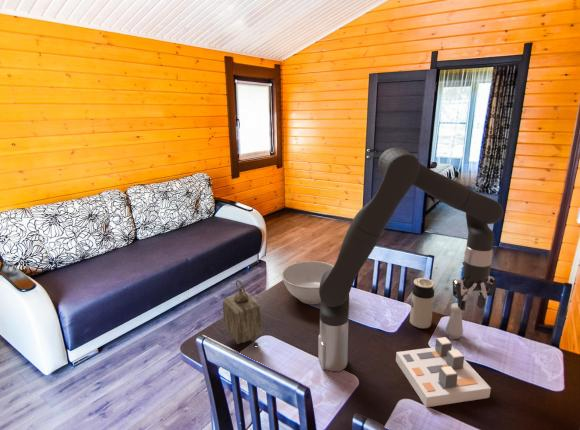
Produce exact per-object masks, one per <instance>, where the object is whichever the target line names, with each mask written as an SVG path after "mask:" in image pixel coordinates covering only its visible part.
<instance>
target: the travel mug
mask: <svg viewBox="0 0 580 430" xmlns="http://www.w3.org/2000/svg"><path fill="white" fill-rule="evenodd" d="M413 284H414V285H413V286H412V288H411V289H412V290H411V302H410V314H409V323H410V324H411V326H413V327H416V328H418V329H428V328H430V327H431V326H432V319H433V318H432V317H433V309H434V298H435V289H434V287H435V282H434V281H433V280H431V279H430V278H425V277H418V278H415V279H414V280H413Z"/></svg>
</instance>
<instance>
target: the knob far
mask: <svg viewBox="0 0 580 430" xmlns="http://www.w3.org/2000/svg"><path fill="white" fill-rule="evenodd" d="M434 347H435V350H436V351H437V352H438V354H439V355H440V356H447V351H451V348H452V347H453V344H452V342H451V341H450V340H449V339H448V337H446V336H444V337H437V338H436V339H435V346H434Z"/></svg>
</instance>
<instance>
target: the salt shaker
mask: <svg viewBox="0 0 580 430" xmlns="http://www.w3.org/2000/svg"><path fill="white" fill-rule="evenodd" d="M450 311H451V314H450V316H449V319H448V322H447V325H446V327H445V332H446V334H447V337H449V339H453V340H458V339H459V338H460V337H462V335H463V334H464V326H463V316H462V314H463V313H464V310H463V311H462V310H461V309H460V308H459V307H458V302H455V303H454V302H453V303H451V305H450Z"/></svg>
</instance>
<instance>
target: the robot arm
mask: <svg viewBox="0 0 580 430" xmlns="http://www.w3.org/2000/svg"><path fill="white" fill-rule="evenodd" d="M378 169H379V172H380V174H381V175H382V176H383V178H382V180H381V183H380V185H379V187H378V188H377V191H376V193H375V194H374V196H373V197H372V198H371V199H370V201H368V203H366V204H365V205H364V206H363V207H362V208H361V209H359V211H358V212H357V213H356V214H355V216H354V217H353V220H351V223H350V225H349V227H348V228H347V231H346V233H345V236H344V238H343V239H342V243H341V245H340V250H339V252H338V255H337V259H336V261H335V263H334V265H333V266H334V267H333V268H332V269H331V270H328V271H327V272H325V273H324V274H323V276H322V278H321V282H320V286H319V295H320V298H321V303H320V309H319V334H318V337H317V339H318V342H317V343H318V346H317V348H318V351H317V352H318V353H317V354H318V355H317V356H318V361H320V362H319V364H320V367H321V370H322V369H323V370H322V371H328V370H330V371H329V372H332V371H337V372H341V371H343V370H345V369H346V367H347V366H348V350H349V349H348V347H349V344H348V343H349V313H350V312H349V310H350V292H351V290H352V287H353V285H354V282H355V281H356V279H357V276H358V274H359V272H360V270H361V269H362V267H363V266H364V265H365V263H366V262H367V260H368V259H369V257H370V255H371V253H372V252H373V250H374V248H375V247H376V245H377V243H378V242H379V240H380V238H381V237H382V235H383V233H384V230H385V229H386V227H387V225H388V223H389V222H390V220H391V218H392V217H393V215H394V213H395V211H396V209H397V207H398V206H399V204H401V203H400V202H401V201H402V200H403V198H404V197H405V196H406V194H407V193H408V191H409V190H410V188H411V187H412V186H414V187H416V188H418V189H420V190H422V191H423V192H425V193H426V194H428V195H430V196H431V197H432V198H435V200H438V201H439V202H442V204H445V205H447V206H449V207H450V208H453V209H455V210H457V211H460V212H463V213H465V219H466V226H467V239H466V246H465V250H464V256H463V257H464V258H463V264H462V265H463V267H462V274H463V275H462V277H461V279H459V280H456V278H455V279H453V280H452V296H453V297H454V298H456V300H457V303H458V307H459V308H460V309H461V310H462V311H463V312H464V311H466V304H467V298H468V297H469V296H470V295H472V293H473V292H475V291H476V292H478V296H477V303H476V304H477V307H478V308H479V309H484V307H486V299H487V298H488V297H493V294H494V291H495V288H496V284H497V282H498V281H497V278H495V277H493V276H492V275H490V274H491V273H490V271H491V267H492V259H493V247H494V239H495V234H494V232H493V230H492V229H491V228H490V227H489V225H492V224H496V223H498V222H500V221H501V220H502V218H503V217H504V208H503V206H502V204H501V203H500V202H498V201H497V200H494V199H492V198H490V197H489V196H485V195H483V194H480V193H478V192H476V191H474V190H472V189H471V188H470V187H468V186H466V185H464V184H462V183H460V182H458V181H456V180H453V179H452V178H449V177H447V176H445V175H443V174H441V173H440V172H437V171H434V170H432V169H430V168H428V167H426V166H425V165H424V164H422V163H420V161H419V159H418V158H417V156H415V155H414V154H412V153H411V152H409V151H408V150H405V149H404V148H401V147H392V148H388V149H386V150H385V151H384V152H383V153H381V155H380V156H379V159H378ZM324 369H326V370H324Z"/></svg>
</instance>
